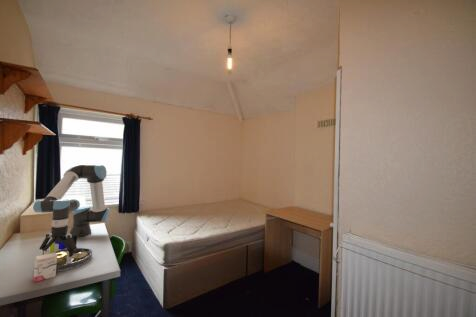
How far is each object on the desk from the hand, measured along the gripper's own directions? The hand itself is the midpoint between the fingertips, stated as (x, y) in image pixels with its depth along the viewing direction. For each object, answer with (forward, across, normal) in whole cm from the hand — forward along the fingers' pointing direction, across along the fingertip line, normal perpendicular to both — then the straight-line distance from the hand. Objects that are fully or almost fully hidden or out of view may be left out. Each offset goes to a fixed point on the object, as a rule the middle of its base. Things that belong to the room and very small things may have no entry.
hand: (57, 261), depth 122 cm
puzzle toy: (+4, -15, +22) cm, 27 cm away
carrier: (+3, 0, +7) cm, 8 cm away
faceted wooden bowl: (+2, 0, 0) cm, 2 cm away
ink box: (+4, +3, -11) cm, 12 cm away
